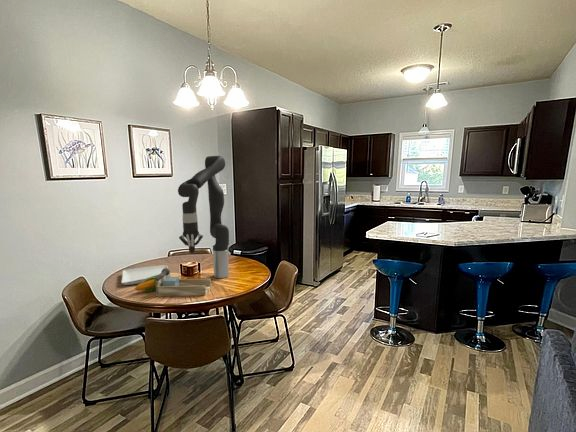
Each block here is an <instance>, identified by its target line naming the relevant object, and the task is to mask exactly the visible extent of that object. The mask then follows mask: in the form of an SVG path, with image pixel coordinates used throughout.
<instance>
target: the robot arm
mask: <svg viewBox="0 0 576 432" xmlns="http://www.w3.org/2000/svg"><path fill="white" fill-rule="evenodd" d="M225 160H226V159H225V158H224V157H223V156H222V155H208V156H206V157H205V160H204V168H203V169H202V170H200V171H198V172H197V173H195V174H194V175H193V176H192V177H191V178H189V179H187V180H186V181H184V182H182V183H181V184H179V186H178V189H177V193H178V195H179V196H180V197H182V198H188V200H187V201H184V202H182V208H181V209H182V229H183V230H182V231H183V232H182V234H181V235H180V236H179V237H178V239H179V240H180V241H181V242H182V243H183V245H185V246H187V247H188V252H189V253H190V254H194V253H195V252H196V246H197V245H199V243H200V241H202V239H203V237H204V235H203V234H201V233H200V232H199V223H198V214H197V202H198V198H199V192H200V191H199V189H201V188H202V187H203V186H204V185H205V184H206V183H207V189H208V190H207V193H208V204H209V233H210V236H211V237H212V238H214V239H215V244H213V246H212V258H213V259H212V260H213V277H214V278H215V279H225V278H228V277H229V275H230V274H229V273H230V271H229V267H230V266H229V244H230V231H229V228H228V226H227V225H225V224H223V223H222V212H223V210H224V206H225V194H224V190H223V189H222V187H221V185H220V184H219V182H218V180H217V178H216V175H217V174H218V173H220V172H221V171H223V170H224V169H225V167H226V161H225ZM196 239H197V240H196Z"/></svg>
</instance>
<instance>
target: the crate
mask: <svg viewBox="0 0 576 432" xmlns="http://www.w3.org/2000/svg"><path fill="white" fill-rule="evenodd" d="M179 279H180V277H179V276H170V277H167V278H165V279H164V280H163V281H162V283H163V286H179Z"/></svg>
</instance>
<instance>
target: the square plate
mask: <svg viewBox="0 0 576 432" xmlns="http://www.w3.org/2000/svg"><path fill="white" fill-rule="evenodd" d="M164 268H168V269H169V266H168V265H167V264H161V265H152V266H143V267H137V268H136V267H135V268H130V269H129V268H128V269H124V270H122V271H121V273H122V274H121V282H120V283H121V285H124V286H129V285H130V286H131V285H139V284H140V283H142V282H144V281H146V280H144V279H146V278H149V277H152V276H155V275H159V274H160V273H162V270H163V269H164ZM167 277H172V273H171V272H170V274H169V275H167ZM153 278H155V277H153ZM150 279H152V278H150ZM147 280H149V279H147Z"/></svg>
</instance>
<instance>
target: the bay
mask: <svg viewBox="0 0 576 432" xmlns="http://www.w3.org/2000/svg"><path fill="white" fill-rule="evenodd" d="M170 273H171V271H170V269H169V267H168V268H164V269H163V270H162V273H160V274H159V275H158V276H156V277H155V280H156V281H155V283H156V290H155V296H156V297H174V296H176V297H177V296H179V297H181V296H187V297H188V296H189V297H190V296H206V295H207V294H208V292H209V291H210V289H211V287H212V280H211V279H212V278H179V286H163V283H162V281H163V280H164V279H165V278H167V275H169V274H170Z"/></svg>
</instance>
